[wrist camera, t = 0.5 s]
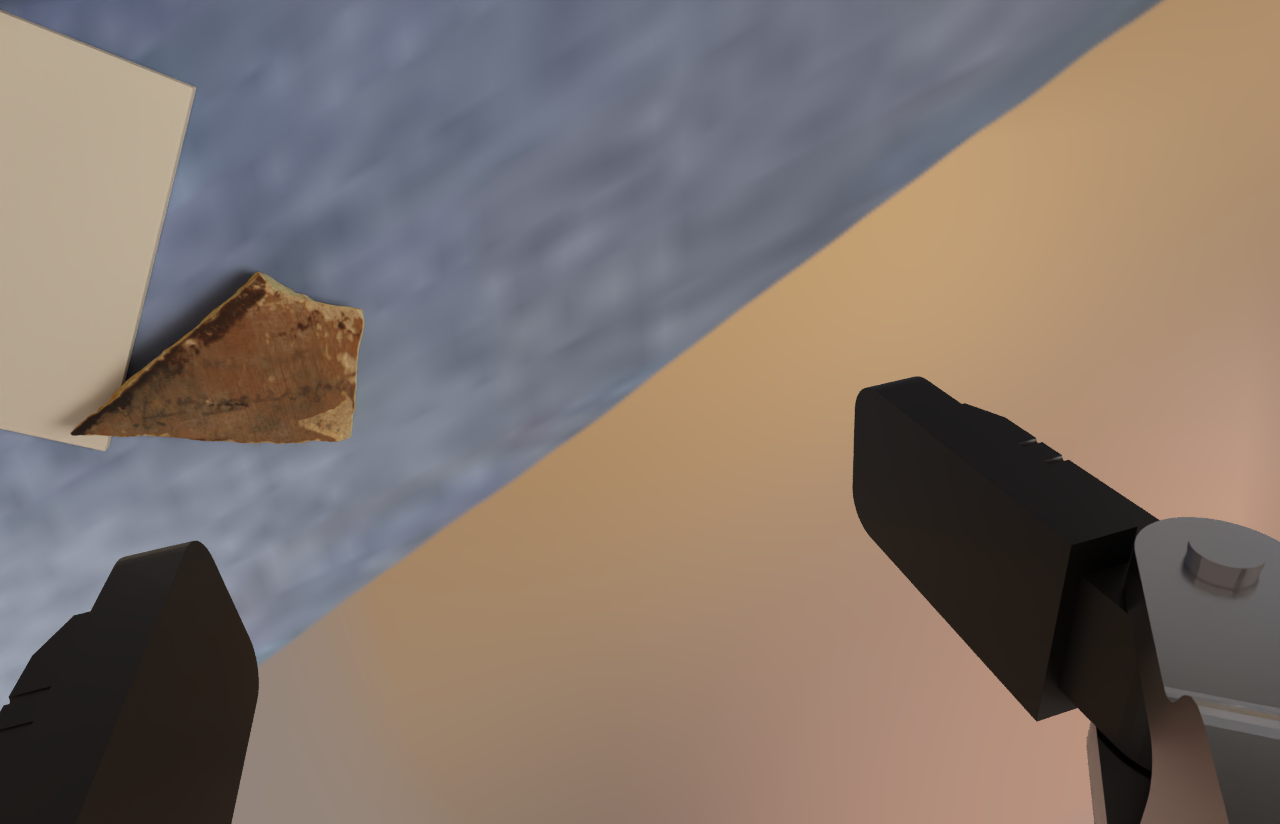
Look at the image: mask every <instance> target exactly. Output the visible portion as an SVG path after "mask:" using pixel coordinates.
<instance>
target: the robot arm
mask: <svg viewBox="0 0 1280 824" xmlns="http://www.w3.org/2000/svg"><path fill="white" fill-rule="evenodd" d="M854 424H855V426H854V458H853V459H854V460H853V498H854V504H855V507H856V511H857V514H858V517H859V519H860V521H861V523H862V525H863V527H864V529H865V530H866V532H867V533H868V535H869V536H870V537H871V538H872V539H873V540H874V541H875V543H876V544H877V545H878V546H879V547H880V548H881V549H882V550H883V552H885V554H886V555H887V556H888V557H889V558H890V559H891V560H892V561H893V563H894V564H895V565H896V566H897V567H898V568H899V569H900V570H901V571H902V573H903V574H904V575H905V576H906V577H907V578H908V579H909V580H910V581H911V583H912V584H913V585H914V586H915V587H916V588H917V589H918V590H919V591H920V593H921V594H922V595H923V596H924V597H925V598H926V599H927V600H928V601H929V603H930V604H931V605H932V606H933V607H934V608H935V609H936V610H937V611H938V612H939V614H940V615H941V616H942V617H943V618H944V619H945V620H946V621H947V623H948V624H949V625H950V626H951V627H952V628H953V629H954V630H955V631H956V633H957V634H958V635H959V636H960V637H961V638H962V639H963V640H964V641H965V642H966V644H967V645H968V646H969V647H970V648H971V649H972V650H973V651H974V653H975V654H976V655H977V656H978V657H979V658H980V659H981V660H982V661H983V662H984V664H985V665H986V666H987V667H988V668H989V669H990V670H991V671H992V672H993V673H994V675H995V676H996V677H997V678H998V679H999V680H1000V681H1001V682H1002V684H1003V685H1004V686H1005V687H1006V688H1007V689H1008V690H1009V691H1010V692H1011V693H1012V695H1013V696H1014V697H1015V698H1016V699H1017V700H1018V701H1019V702H1020V703H1021V704H1022V706H1023V707H1024V708H1025V709H1026V710H1027V711H1028V712H1029V713H1030V715H1031V716H1032V717H1033V718H1034V719H1035V720H1036V721H1040V720H1043V719H1046V718H1049V717H1051V716H1054V715H1058V714H1061V713H1063V712H1067V711H1070V710H1073V709H1076V708H1078V709H1080V711H1081V712H1082V713H1083V714H1084V715H1085V716H1086V717H1087V718H1088V719H1089V720H1090V721H1091V723H1090V727H1089V731H1088V736H1087V756H1088V765H1089V776H1090V785H1091V795H1092V805H1093V815H1094V824H1280V542H1279V541H1277V540H1275V539H1273V538H1271V537H1269V536H1267V535H1265V534H1263V533H1260V532H1258V531H1255V530H1252V529H1250V528H1247V527H1244V526H1240V525H1237V524H1233V523H1229V522H1225V521H1221V520H1214V519H1208V518H1196V517H1178V518H1170V519H1164V520H1158V519H1157V518H1155V517H1154V516H1152V515H1151V514H1150V513H1148V512H1146V511H1145V510H1143V509H1142V508H1140V507H1139V506H1137V505H1136V504H1134V503H1133V502H1131V501H1130V500H1128V499H1127V498H1125V497H1124V496H1122V495H1121V494H1119V493H1118V492H1116V491H1115V490H1113V489H1112V488H1110V487H1109V486H1107V485H1106V484H1104V483H1103V482H1101V481H1100V480H1098V479H1097V478H1095V477H1094V476H1092V475H1091V474H1089V473H1088V472H1086V471H1085V470H1083V469H1082V468H1080V467H1079V466H1077V465H1076V464H1074V463H1073V462H1071V461H1070V460H1066V461H1063V459H1062V455H1061V454H1059V453H1058V452H1056V451H1055V450H1053V449H1052V448H1050V447H1049V446H1047V445H1046V444H1044V443H1043V442H1041V443H1037V441H1036V438H1035V437H1034V436H1032V435H1031V434H1029V433H1028V432H1026V431H1024V430H1023V429H1022V428H1020V427H1019V426H1017V425H1015V424H1014V423H1013V422H1011V421H1009V420H1008V419H1007V418H1005V417H1002V416H999V415H997V414H993V413H991V412H988V411H985V410H982V409H979V408H977V407H974V406H971V405H968V404H965V403H964V404H961V403H959V402H958V401H957V400H955V399H954V398H952V397H951V396H949V395H948V394H946V393H945V392H943V391H942V390H941V389H939V388H938V387H936V386H935V385H933V384H932V383H931V382H929V381H928V380H926V379H924V378H922V377H911V378H907V379H903V380H898V381H894V382H889V383H885V384H881V385H877V386H872V387H868V388H864V389H862V390H861V391H860V393H859V394H858V396H857V399H856V403H855V423H854ZM258 689H259V677H258V667H257V661H256V656H255V652H254V649H253V645H252V643H251V640H250V638H249V636H248V634H247V631H246V629H245V627H244V625H243V623H242V621H241V618H240V616H239V614H238V612H237V610H236V608H235V605H234V603H233V601H232V599H231V597H230V594H229V592H228V590H227V588H226V586H225V584H224V581H223V579H222V577H221V575H220V573H219V571H218V568H217V566H216V564H215V562H214V560H213V558H212V556H211V554H210V552H209V551H208V549H207V548H206V547H205V546H204V545H203V544H202V543H201V542H199V541H191V542H187V543H182V544H178V545H174V546H169V547H165V548H161V549H156V550H152V551H148V552H143V553H139V554H135V555H130V556H126V557H123V558H121V559H119V560H118V561H117V563H116V564H115V566H114V567H113V569H112V571H111V573H110V575H109V577H108V579H107V581H106V583H105V585H104V587H103V588H102V590H101V592H100V594H99V596H98V598H97V600H96V602H95V604H94V606H93V608H92V610H91V612H86V613H82V614H78V615H74V616H73V617H72V618H71V619H70V620H69V621H68V622H67V623H66V624H65V625H64V626H63V627H62V628H61V629H60V630H59V631H57V632H56V633H55V634H54V635H53V636H52V637H51V638H50V639H49V640H48V641H47V642H46V643H45V644H44V645H43V646H42V647H41V648H40V649H39V650H38V651H37V652H36V653H35V654H34V655H33V656H32V657H31V659H30V661H29V663H28V664H27V666H26V668H25V669H24V671H23V673H22V675H21V676H20V678H19V680H18V682H17V683H16V685H15V687H14V689H13V690H12V692H11V694H10V696H9V699H10V704H8V705H4V706H3V708H2V709H1V711H0V824H231V823H232V817H233V813H234V808H235V803H236V799H237V794H238V789H239V784H240V779H241V775H242V770H243V765H244V760H245V756H246V751H247V746H248V741H249V737H250V732H251V727H252V722H253V717H254V713H255V708H256V703H257V698H258Z"/></svg>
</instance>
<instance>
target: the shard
mask: <svg viewBox="0 0 1280 824" xmlns="http://www.w3.org/2000/svg"><path fill="white" fill-rule="evenodd" d="M363 330H364V316H363V310H362V309H360V308H353V307H349V306H336V305H330V304H325V303H321V302H316V301H314V300H312V299H311V298H309V297H308V296H306V295H304V294H299V293H295V292H294V291H293V290H291V289H290V288H288V287H286V286H283V285H282V284H280V283H279V282H277V281H276V280H274V279H273V278H271V277H270V276H268V275H266V274H264V273H261V272H256V273H255V274H254V275H253V276H252V277H251V278H250V279H249V280H248V282H247V283H246V284H244V285H243V286H242V287H241V288H239V289H238V291H237V292H236V293H235V294H234V295H233V296H232V297H230V298H229V299H228V300H227V301H225V302H224V303H222V304H221V305H220V306H219V307H218V308H216V309H214V310H213V311H212V312H211V313H210V314H209V315H208V316H207V317H205V318H204V319H203V320H202V321H201V323H200V324H199V325H198V326H197V327H195V328H194V329H193V330H192V331H190V332H188V333H187V334H186V335H185V336H183V337H182V338H181V339H180V340H178V341H177V342H176V343H175V344H173V345H172V346H171V347H169V348H168V349H166V350H163V352H162V354H161V355H160V356H158V357H156V358H155V359H154V360H152V361H151V362H150V363H149V364H148V365H146V366H145V367H144V368H143V369H141V370H140V371H139V372H137V373H136V374H134V375H133V376H132V377H131V378H129V379H128V380H127V381H126V382H125V383H124V384H123V385H122V386H121V387H120V388H119V389H117V390H116V391H115V392H114V394H113V395H112V397H111V398H110V399H109V400H108V401H107V402H106V403H105V404H104V405H103V406H101V407H100V408H99V409H98V411H97V413H93V414H91V415H89V416H88V417H87V418H86V419H84V420H83V421H82V422H81V423H79V424H78V425H77V426H76V427H75V428H74V429H73V431H72V432H71V433H70V434H71V435H73V436H78V435H86V436H88V435H101V436H117V437H125V436H126V437H129V436H142V435H147V436H161V437H175V438H188V439H192V440H201V441H233V442H239V443H262V442H270V443H276V444H282V443H305V442H307V441H329V442H339V441H342V440H344V439H347V438H349V437H351V432H352V427H353V424H352V421H353V414H354V411H355V398H356V386H357V361H358V355H359V354H358V351H359V347H360V342H361V338H362V334H363Z"/></svg>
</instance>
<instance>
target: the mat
mask: <svg viewBox="0 0 1280 824" xmlns="http://www.w3.org/2000/svg"><path fill="white" fill-rule="evenodd" d="M196 88H197V87H195V86H192V85H190V84H187V83H185V82H182V81H180V80H177V79H175V78H172V77H169V76H167V75H164V74H162V73H159V72H157V71H154V70H152V69H149V68H147V67H144V66H142V65H139V64H137V63H134V62H132V61H129V60H127V59H124V58H122V57H119V56H117V55H114V54H112V53H109V52H106V51H104V50H101V49H99V48H96V47H94V46H91V45H89V44H86V43H84V42H81V41H79V40H76V39H74V38H71V37H69V36H66V35H64V34H61V33H59V32H56V31H54V30H51V29H49V28H46V27H44V26H41V25H38V24H36V23H33V22H31V21H28V20H26V19H23V18H21V17H18V16H16V15H13V14H11V13H8V12H6V11H3V10H1V9H0V429H4V430H9V431H14V432H18V433H23V434H27V435H32V436H37V437H41V438H46V439H51V440H55V441H60V442H64V443H69V444H74V445H78V446H83V447H88V448H92V449H97V450H101V451H106V450H107V448H108V447H109V445H110V441H111V437H112V436H101V435H88V436H86V435H78V436H73V435H71V434H70V433H71V432H72V431H73V429H74V428H75V427H76V426H77V425H78V424H79V423H81V422H82V421H83V420H84V419H86V418H87V417H88V416H89V415H91V414H93V413H97V411H98V409H99V408H100V407H101V406H103V405H104V404H105V403H106V402H107V401H108V400H109V399H110V398H111V397H112V395H113V394H114V392H115V391H116V390H117V389H119V388H120V387H121V386H122V385H123V384H124V383H125V379H126V375H127V371H128V367H129V363H130V359H131V355H132V351H133V347H134V342H135V338H136V334H137V330H138V326H139V322H140V318H141V314H142V310H143V305H144V301H145V297H146V293H147V289H148V285H149V281H150V277H151V273H152V268H153V264H154V260H155V256H156V252H157V248H158V244H159V240H160V236H161V231H162V227H163V223H164V219H165V215H166V211H167V207H168V203H169V199H170V195H171V190H172V186H173V182H174V178H175V174H176V170H177V166H178V162H179V158H180V153H181V149H182V145H183V141H184V137H185V133H186V129H187V125H188V121H189V116H190V112H191V108H192V104H193V100H194V96H195V92H196Z"/></svg>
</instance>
